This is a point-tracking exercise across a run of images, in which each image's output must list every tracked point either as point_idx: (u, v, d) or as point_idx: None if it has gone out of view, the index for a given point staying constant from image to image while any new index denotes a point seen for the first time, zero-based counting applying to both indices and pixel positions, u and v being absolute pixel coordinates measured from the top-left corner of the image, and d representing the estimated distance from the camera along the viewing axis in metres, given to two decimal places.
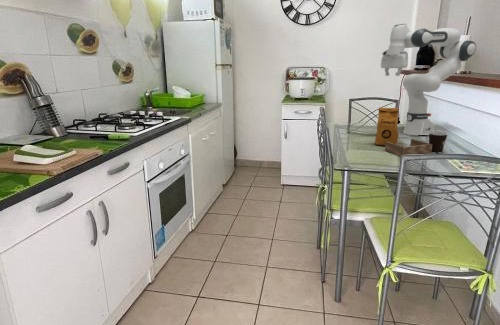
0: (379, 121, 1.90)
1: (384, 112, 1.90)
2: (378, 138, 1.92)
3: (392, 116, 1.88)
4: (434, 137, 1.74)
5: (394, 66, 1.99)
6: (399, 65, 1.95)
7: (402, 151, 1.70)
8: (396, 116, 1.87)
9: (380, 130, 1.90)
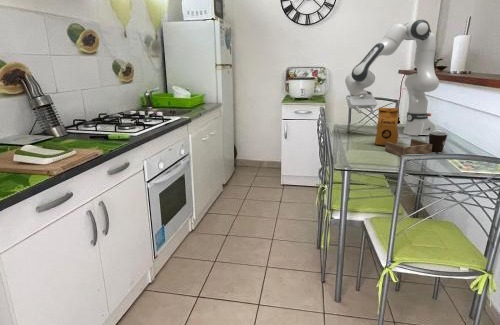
0: (379, 121, 1.90)
1: (384, 112, 1.90)
2: (378, 138, 1.92)
3: (392, 116, 1.88)
4: (434, 137, 1.74)
5: None
6: None
7: (402, 151, 1.70)
8: (396, 116, 1.87)
9: (380, 130, 1.90)
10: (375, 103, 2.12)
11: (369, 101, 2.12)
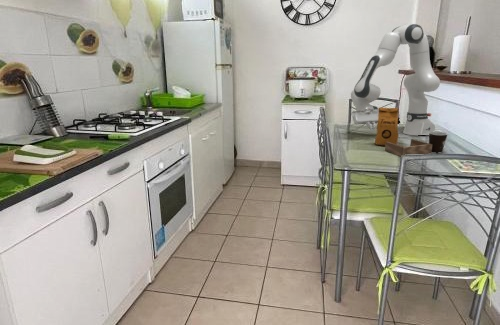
0: (379, 121, 1.90)
1: (384, 112, 1.90)
2: (378, 138, 1.92)
3: (392, 116, 1.88)
4: (434, 137, 1.74)
5: None
6: None
7: (402, 151, 1.70)
8: (396, 116, 1.87)
9: (380, 130, 1.90)
10: None
11: (375, 116, 2.08)
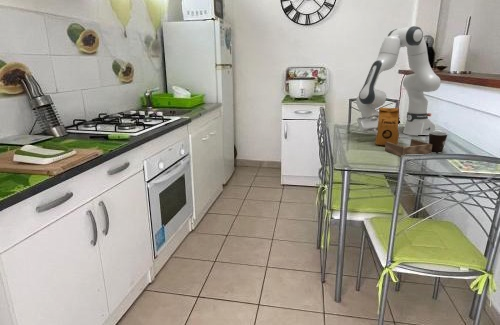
0: (380, 121, 1.89)
1: (384, 112, 1.90)
2: (379, 138, 1.91)
3: (393, 116, 1.88)
4: (434, 137, 1.74)
5: None
6: None
7: (402, 151, 1.70)
8: (397, 116, 1.87)
9: (381, 130, 1.89)
10: None
11: None
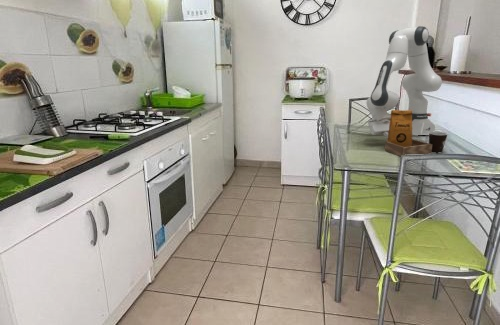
0: (393, 124, 1.79)
1: (397, 115, 1.80)
2: (392, 142, 1.81)
3: (406, 119, 1.79)
4: (434, 137, 1.74)
5: None
6: None
7: (402, 151, 1.70)
8: (410, 119, 1.79)
9: (395, 134, 1.79)
10: None
11: None
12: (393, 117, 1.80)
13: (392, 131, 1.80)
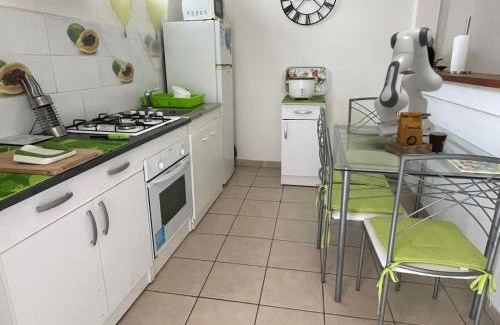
0: (403, 127, 1.72)
1: (407, 117, 1.74)
2: (402, 145, 1.75)
3: (415, 121, 1.73)
4: (434, 137, 1.74)
5: None
6: None
7: (402, 151, 1.70)
8: (420, 120, 1.73)
9: (405, 137, 1.73)
10: None
11: None
12: (403, 119, 1.73)
13: (402, 134, 1.73)
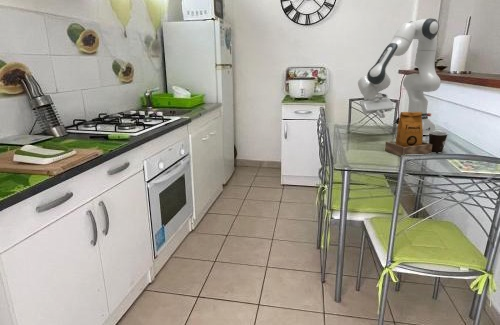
0: (403, 127, 1.72)
1: (407, 117, 1.74)
2: (402, 145, 1.75)
3: (415, 121, 1.73)
4: (434, 137, 1.74)
5: None
6: None
7: (402, 151, 1.70)
8: (420, 120, 1.73)
9: (405, 137, 1.73)
10: (392, 106, 1.99)
11: (385, 104, 1.99)
12: (403, 119, 1.73)
13: (402, 134, 1.73)
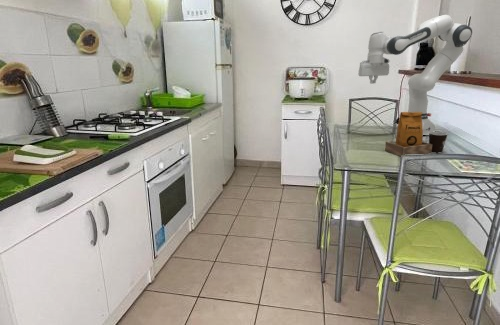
0: (403, 127, 1.72)
1: (407, 117, 1.74)
2: (402, 145, 1.75)
3: (415, 121, 1.73)
4: (434, 137, 1.74)
5: None
6: None
7: (402, 151, 1.70)
8: (420, 120, 1.73)
9: (405, 137, 1.73)
10: (387, 73, 2.05)
11: (382, 70, 2.04)
12: (403, 119, 1.73)
13: (402, 134, 1.73)
